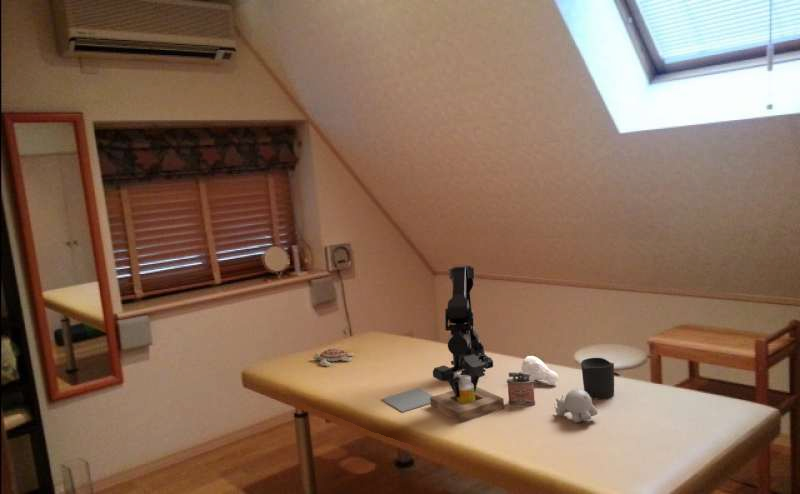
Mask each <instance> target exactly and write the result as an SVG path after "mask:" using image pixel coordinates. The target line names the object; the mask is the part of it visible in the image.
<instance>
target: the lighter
mask: <svg viewBox="0 0 800 494" xmlns="http://www.w3.org/2000/svg"><path fill="white" fill-rule="evenodd" d="M525 377H526V378H525ZM506 383H507V395H508V401H507V402H508V403H507V404H508V405H509V406H515V407H534V406H535V405H536V400H535V391H534V390H535V388H534V383H535V380H533V379H529V373H523V371H522V370H520V371H519V372H517V371H509V372H508V378H507V379H506Z"/></svg>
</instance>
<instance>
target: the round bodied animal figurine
mask: <svg viewBox="0 0 800 494" xmlns="http://www.w3.org/2000/svg"><path fill="white" fill-rule="evenodd" d="M555 400H556V404H553V405H554V409H555V413H556V414H557V416H560V417H563V416H565V415H566V414H567V413H571V416H572V417H571V418H572V421H573V423H581V422H582V421H583V422H586V421H590V420H591V419H592V417H594V416H596V415H598V410H597V408H596V407H595V406H594V404H593V400H592V398H591V397H590V396H589V394H588V393H587V392H586V391H584V389H580V388H575V389H572V390H569V392H567V393H566V395H561V398H555Z"/></svg>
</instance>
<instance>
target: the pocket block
mask: <svg viewBox="0 0 800 494" xmlns="http://www.w3.org/2000/svg"><path fill="white" fill-rule="evenodd" d="M504 402H505V401H504V398H503V397H501V396H499V395H496V394H494V393H492V392H489V391H487V390H486V389H483V388H481V387H479V386H476V390H475V401H473V402H470V403H467V404H464V405H462V404H460V403H458V402H457V397H456V395H455V393H454V391H453V390H450V391H446V392H443V393H440V394H436V395H433V397H430V403H431V404H430V407H431V408H432V409H433V410H436V411H437V412H439V413H441V414H442V415H445V416H447V417H448V418H450V419H452V420H454V421H456V422H457V423H459V424H461V423H465V422H467V421H471V420H473V419H474V420H475V419H476V418H480V417H482V416H485V415H488V414H491V413H494V412H497V411H499V410H502V409H504V408H505V403H504Z"/></svg>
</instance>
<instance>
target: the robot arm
mask: <svg viewBox="0 0 800 494" xmlns="http://www.w3.org/2000/svg"><path fill="white" fill-rule="evenodd" d="M448 276H449V281H452V293H451V294H452V296H451V298H450V299H449V300H448V301H447V308H445V311H444V312H445V316H444V317H445V327H444V329H445V331H447V332H448V331H449V332H450V336H449V340H448V342H447V349H448V351H449V352H450V354H452V360H451V361H450V364H451V365H452V367H449V366H446V365H445V364H444V365H439V366H437V367H433V370H432V377H433V378H435V379H437V380H439V381H441V382H448V384H449V386H450V388H451V389H452V390H451V391H454V393H455V395H456V397H458V398H459V384H458V383H459V382H458V381H459V380H460V378H459V377H458V373H459V376H460V375H470V376H471V382H472V383H473V384H474V393H475V390H476V387H478V382H479V379H480V377H483V376H485V374H486V373H485V372H486V370H487V369H492V368H494V360H493V359H492V358H491V357H489V356H488V355H487V354H485V347H484V345H483V344H482V342H481V341H480V335H479V334H478V333H477V332H476V330H475V327H474V326H475V324H474V321H475V319H474V310H473V306H472V305H473V304H472V293H471V290H472V289H473V287H474V283H475V279H476V268H475V267H472V265H455V266H452V268H448Z"/></svg>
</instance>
